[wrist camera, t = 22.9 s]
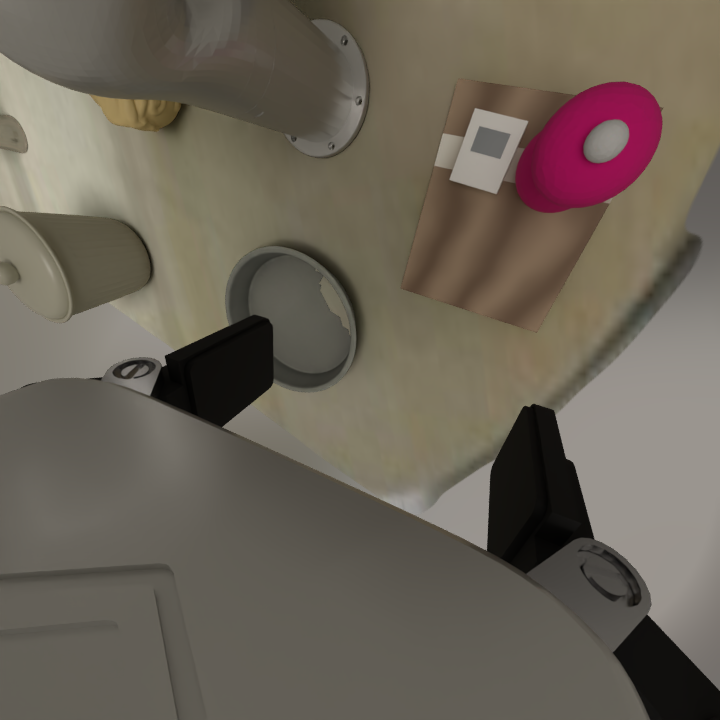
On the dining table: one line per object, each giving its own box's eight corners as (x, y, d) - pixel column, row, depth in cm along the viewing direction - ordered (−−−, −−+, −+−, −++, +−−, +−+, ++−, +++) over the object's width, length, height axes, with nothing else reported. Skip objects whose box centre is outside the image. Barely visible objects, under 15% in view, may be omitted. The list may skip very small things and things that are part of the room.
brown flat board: (403, 285, 43) (400, 288, 42) (459, 83, 32) (458, 78, 31) (535, 328, 39) (536, 332, 38) (656, 112, 28) (663, 107, 26)
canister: (175, 255, 58) (35, 278, 41) (152, 314, 68) (33, 353, 51) (105, 182, 57) (-69, 174, 40) (93, 253, 67) (-50, 272, 50)
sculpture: (194, 147, 47) (122, 135, 38) (135, 117, 49) (53, 98, 40) (198, 49, 41) (113, 7, 32) (130, 18, 42) (31, -30, 33)
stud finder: (453, 181, 35) (449, 179, 32) (477, 115, 31) (474, 107, 29) (496, 194, 33) (496, 193, 31) (526, 127, 30) (528, 121, 28)
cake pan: (340, 403, 58) (329, 416, 54) (236, 341, 62) (219, 350, 58) (389, 285, 44) (379, 293, 41) (252, 216, 48) (231, 218, 45)
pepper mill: (507, 211, 34) (510, 221, 17) (523, 130, 30) (544, 48, 14) (584, 212, 31) (672, 224, 15) (611, 123, 28) (761, 15, 12)
